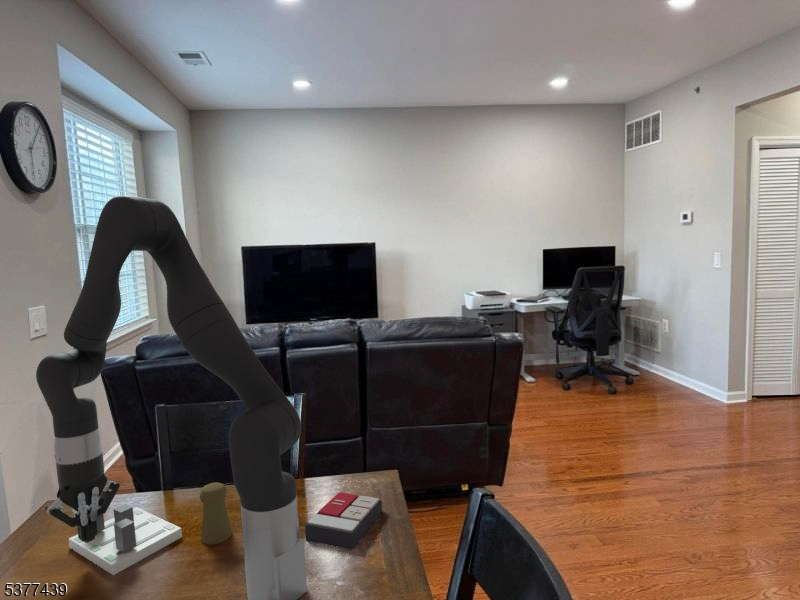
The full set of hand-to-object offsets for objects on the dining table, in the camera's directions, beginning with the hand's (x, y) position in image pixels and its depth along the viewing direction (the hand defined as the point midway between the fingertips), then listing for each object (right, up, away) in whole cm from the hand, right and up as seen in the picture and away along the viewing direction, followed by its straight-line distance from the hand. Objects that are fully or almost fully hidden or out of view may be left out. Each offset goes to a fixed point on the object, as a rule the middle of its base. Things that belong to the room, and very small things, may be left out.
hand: (88, 540), depth 96 cm
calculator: (+49, -2, +10) cm, 50 cm away
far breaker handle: (-3, -1, +7) cm, 7 cm away
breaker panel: (+4, -3, +6) cm, 8 cm away
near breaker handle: (+7, -1, 0) cm, 7 cm away
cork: (+22, -3, +7) cm, 23 cm away
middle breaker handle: (+4, -1, +6) cm, 7 cm away
